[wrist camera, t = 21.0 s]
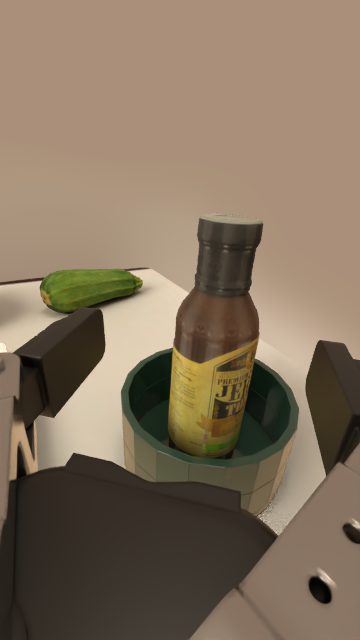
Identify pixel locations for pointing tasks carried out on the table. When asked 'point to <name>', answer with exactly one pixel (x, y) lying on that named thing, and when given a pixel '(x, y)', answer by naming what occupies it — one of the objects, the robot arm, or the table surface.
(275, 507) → the table surface
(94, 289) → the vegetable
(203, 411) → the sauce bottle
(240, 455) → the pot
